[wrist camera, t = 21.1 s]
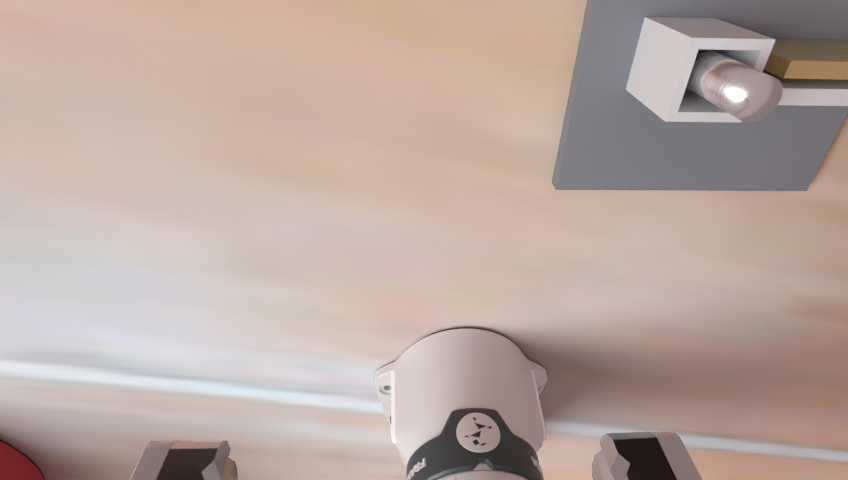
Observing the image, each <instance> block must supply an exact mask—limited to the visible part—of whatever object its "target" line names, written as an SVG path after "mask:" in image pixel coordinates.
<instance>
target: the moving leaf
mask: <svg viewBox="0 0 848 480" xmlns="http://www.w3.org/2000/svg"><path fill="white" fill-rule="evenodd" d="M764 70H766V71H768V72H770V73H772V74H775V75H777V76H779V77H781V78H790V79H838V80H848V40H809V39H776V41H775V43H774V45H773V48H772V50H771V53H770V55H769V58H768V60H767V62H766V65H765V67H764Z"/></svg>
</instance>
